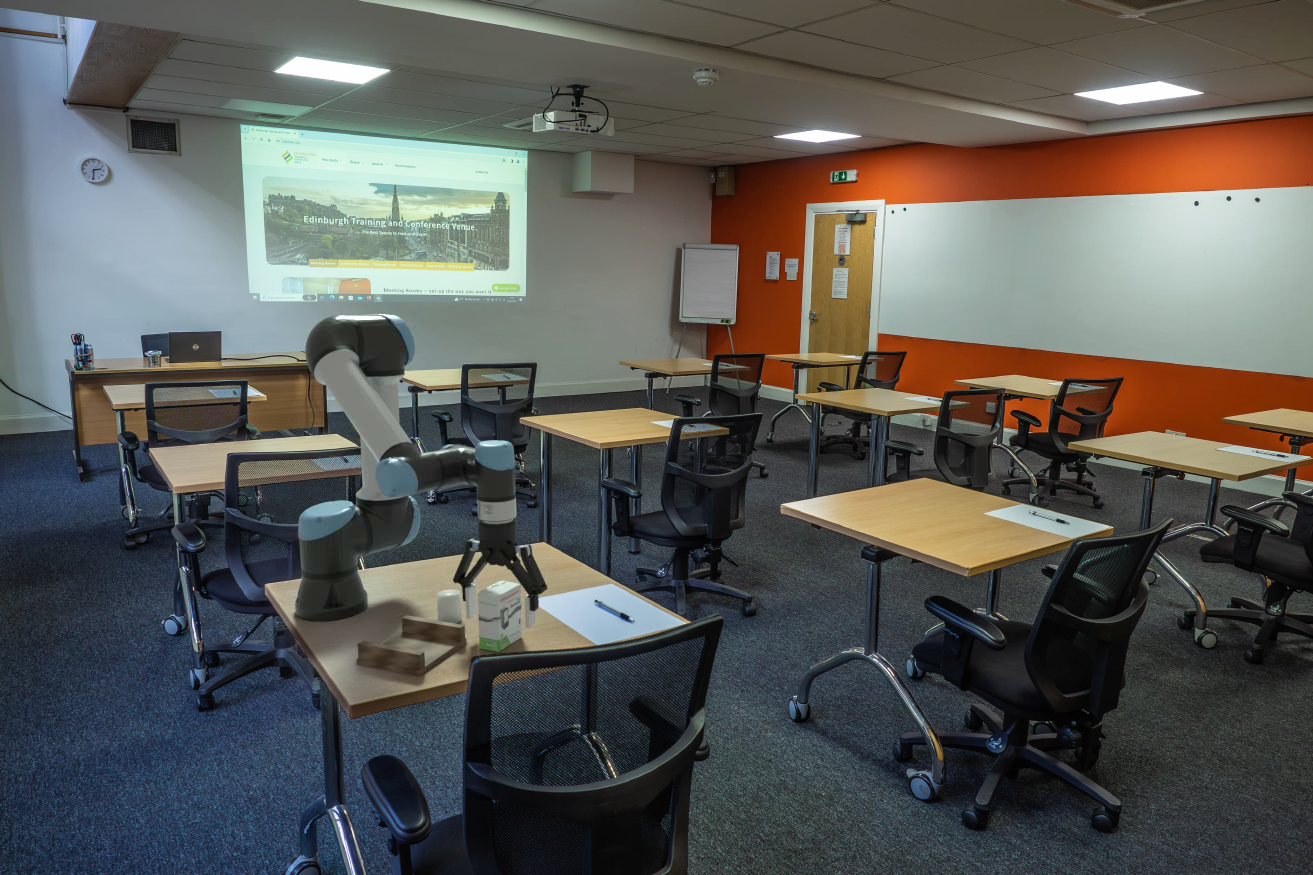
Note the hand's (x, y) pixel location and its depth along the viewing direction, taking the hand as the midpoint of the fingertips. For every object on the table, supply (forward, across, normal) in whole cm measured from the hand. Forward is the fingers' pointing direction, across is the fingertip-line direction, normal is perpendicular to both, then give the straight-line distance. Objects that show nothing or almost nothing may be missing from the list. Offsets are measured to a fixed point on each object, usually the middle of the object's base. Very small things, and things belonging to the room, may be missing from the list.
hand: (500, 621), depth 170 cm
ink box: (+5, 0, 0) cm, 5 cm away
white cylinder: (+4, -16, +6) cm, 18 cm away
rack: (+4, -13, -11) cm, 18 cm away
